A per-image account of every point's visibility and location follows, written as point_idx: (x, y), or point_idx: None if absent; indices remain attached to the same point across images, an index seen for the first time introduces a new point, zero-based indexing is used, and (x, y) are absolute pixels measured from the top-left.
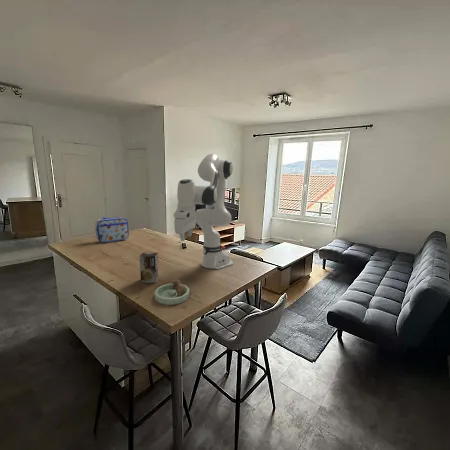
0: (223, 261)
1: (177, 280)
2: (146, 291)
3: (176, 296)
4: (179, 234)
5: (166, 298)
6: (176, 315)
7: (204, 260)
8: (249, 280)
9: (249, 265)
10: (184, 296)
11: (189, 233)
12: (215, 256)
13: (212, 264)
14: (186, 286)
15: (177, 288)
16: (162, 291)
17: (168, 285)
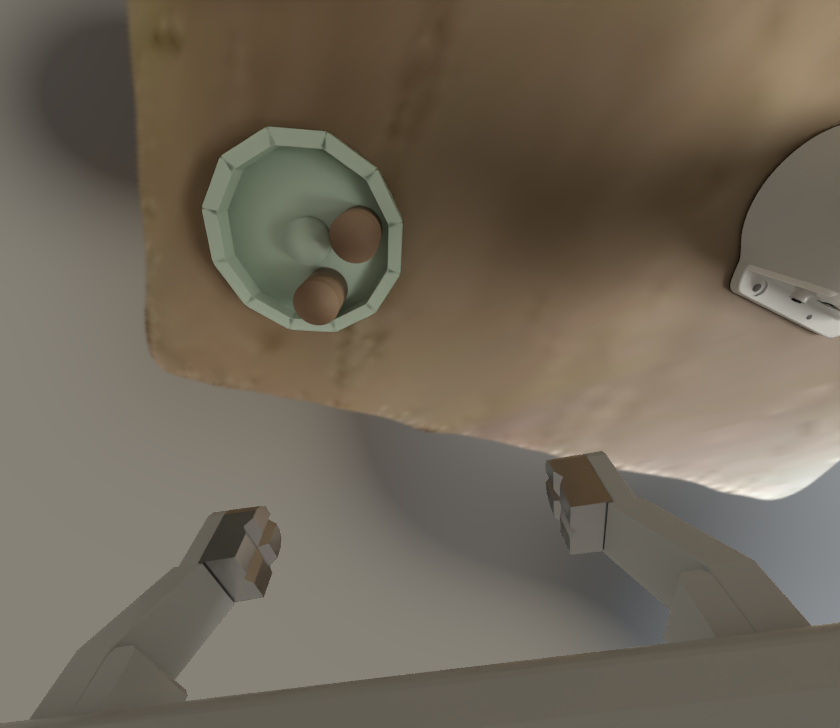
0: (826, 303)
1: (368, 236)
2: (257, 27)
3: (306, 272)
4: (79, 655)
5: (224, 267)
6: (208, 348)
7: (823, 182)
8: (611, 460)
9: (805, 412)
10: (302, 328)
11: (570, 532)
12: (831, 290)
13: (767, 256)
14: (390, 284)
15: (295, 292)
16: (301, 160)
17: (350, 168)
